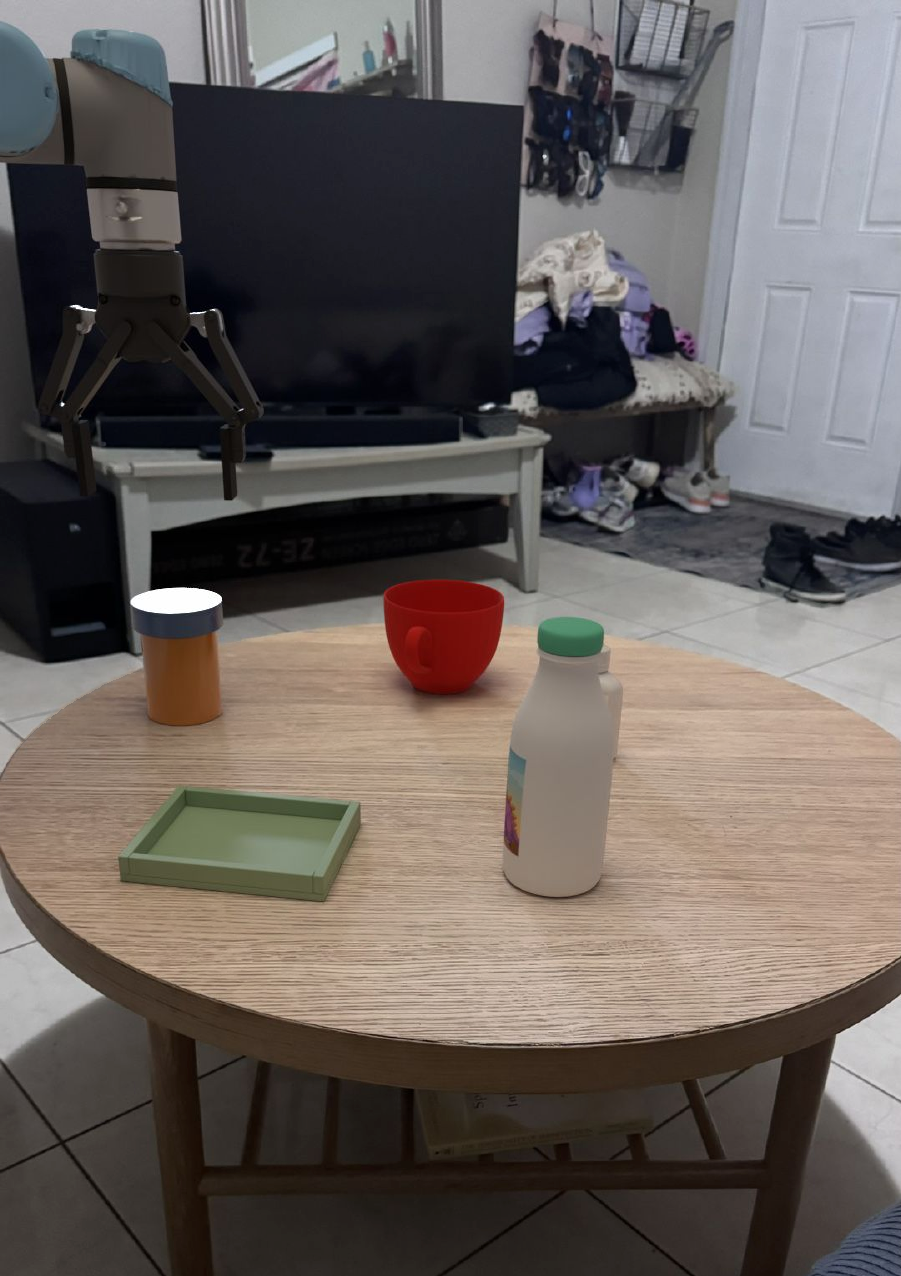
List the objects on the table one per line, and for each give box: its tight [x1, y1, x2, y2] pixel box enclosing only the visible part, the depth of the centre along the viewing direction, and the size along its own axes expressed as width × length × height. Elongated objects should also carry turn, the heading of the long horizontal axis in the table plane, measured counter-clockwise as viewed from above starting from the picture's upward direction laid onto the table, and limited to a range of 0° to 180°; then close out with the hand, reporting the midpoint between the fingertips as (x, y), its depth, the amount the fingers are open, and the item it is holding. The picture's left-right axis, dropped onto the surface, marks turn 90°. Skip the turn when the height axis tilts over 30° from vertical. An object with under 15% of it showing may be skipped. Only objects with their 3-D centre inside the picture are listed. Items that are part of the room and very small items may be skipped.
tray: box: [117, 784, 362, 902], centre depth 88 cm, size 16×13×2 cm
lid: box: [129, 587, 224, 639], centre depth 110 cm, size 9×9×2 cm
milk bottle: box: [502, 616, 614, 898], centre depth 82 cm, size 8×8×20 cm
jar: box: [139, 630, 223, 727], centre depth 112 cm, size 7×7×11 cm
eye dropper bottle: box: [598, 642, 624, 760], centre depth 105 cm, size 4×6×12 cm
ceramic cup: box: [382, 579, 505, 695], centre depth 120 cm, size 13×17×10 cm
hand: (159, 496), depth 107 cm, fingers open, 13 cm apart
